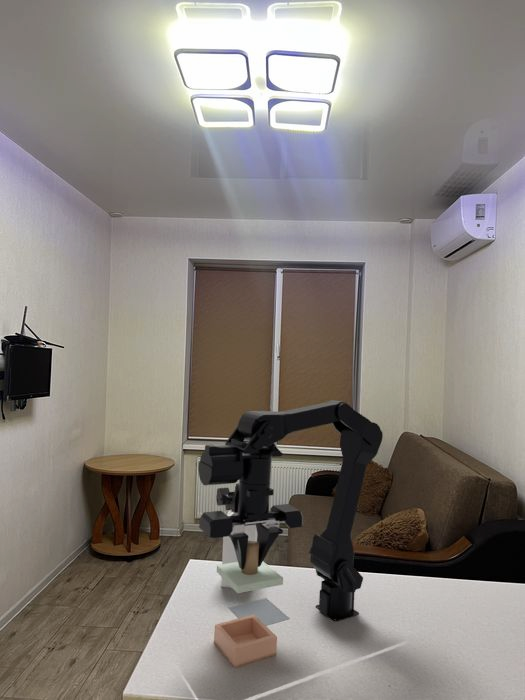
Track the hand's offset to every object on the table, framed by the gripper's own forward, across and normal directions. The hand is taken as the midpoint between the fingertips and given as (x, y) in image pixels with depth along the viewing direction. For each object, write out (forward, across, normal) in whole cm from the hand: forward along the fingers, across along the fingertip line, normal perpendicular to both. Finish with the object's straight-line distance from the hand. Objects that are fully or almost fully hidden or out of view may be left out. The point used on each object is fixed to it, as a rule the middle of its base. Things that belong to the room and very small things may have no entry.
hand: (249, 567), depth 88 cm
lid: (+2, 0, 0) cm, 2 cm away
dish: (+13, +2, +3) cm, 13 cm away
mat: (+13, -6, -6) cm, 15 cm away
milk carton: (+13, -8, -20) cm, 25 cm away
